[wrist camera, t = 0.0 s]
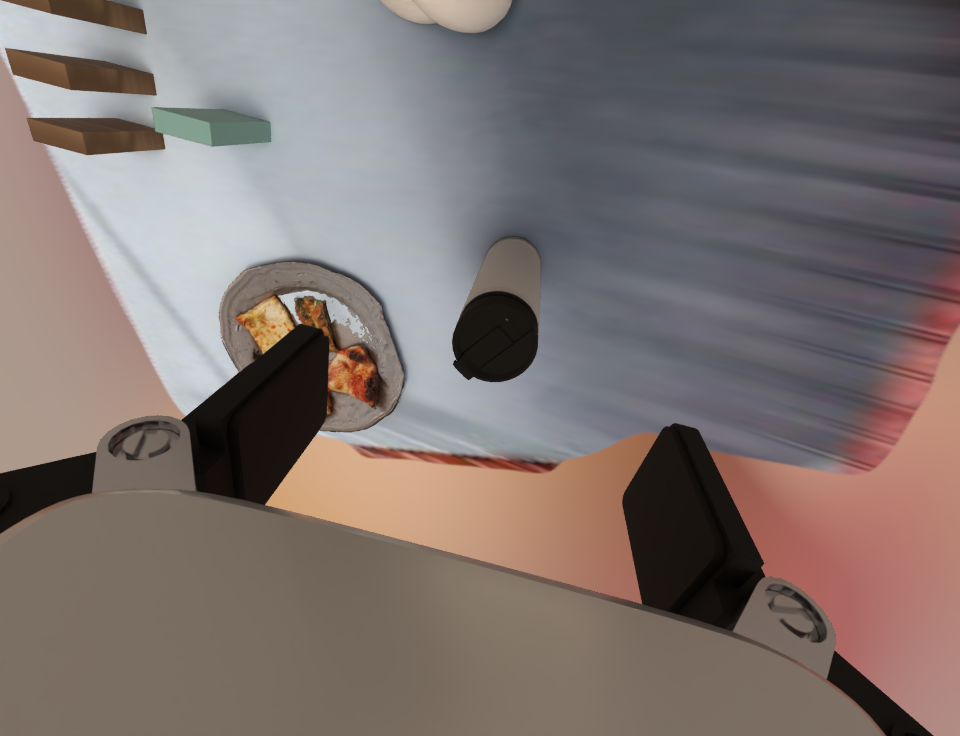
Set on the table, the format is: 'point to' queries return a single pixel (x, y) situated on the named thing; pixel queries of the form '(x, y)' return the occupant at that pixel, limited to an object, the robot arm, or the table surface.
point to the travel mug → (501, 314)
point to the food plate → (352, 362)
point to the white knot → (452, 13)
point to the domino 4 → (211, 126)
